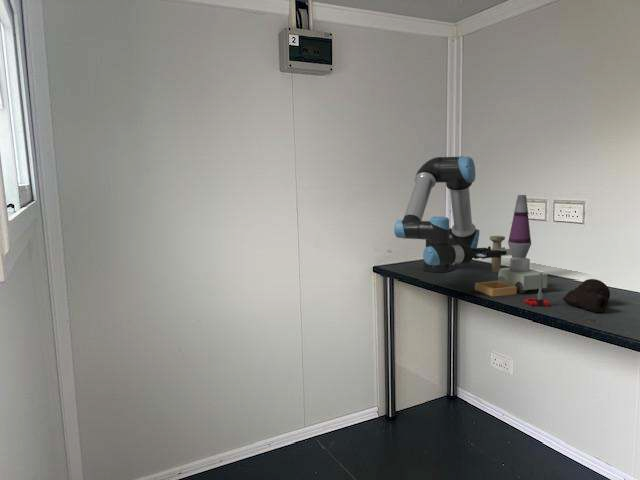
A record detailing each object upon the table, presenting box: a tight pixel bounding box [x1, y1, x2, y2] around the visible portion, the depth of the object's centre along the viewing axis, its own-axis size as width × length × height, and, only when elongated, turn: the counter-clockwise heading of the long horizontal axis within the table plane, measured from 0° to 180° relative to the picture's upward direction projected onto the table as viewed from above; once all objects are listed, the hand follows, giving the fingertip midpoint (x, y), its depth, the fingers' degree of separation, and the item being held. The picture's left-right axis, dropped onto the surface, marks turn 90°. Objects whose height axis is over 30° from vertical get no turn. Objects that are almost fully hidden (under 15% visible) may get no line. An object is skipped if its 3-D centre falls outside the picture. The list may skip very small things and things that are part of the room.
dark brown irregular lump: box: [562, 278, 611, 313], centre depth 175 cm, size 10×15×15 cm
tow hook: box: [524, 272, 550, 307], centre depth 181 cm, size 8×13×9 cm
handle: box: [489, 235, 506, 273], centre depth 196 cm, size 5×6×15 cm
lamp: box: [507, 194, 532, 258], centre depth 217 cm, size 11×11×40 cm
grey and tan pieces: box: [474, 257, 549, 297], centre depth 200 cm, size 16×26×13 cm, turn 107°
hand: (507, 251), depth 197 cm, fingers closed on handle, 3 cm apart
